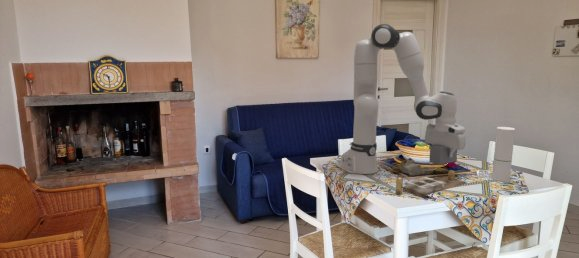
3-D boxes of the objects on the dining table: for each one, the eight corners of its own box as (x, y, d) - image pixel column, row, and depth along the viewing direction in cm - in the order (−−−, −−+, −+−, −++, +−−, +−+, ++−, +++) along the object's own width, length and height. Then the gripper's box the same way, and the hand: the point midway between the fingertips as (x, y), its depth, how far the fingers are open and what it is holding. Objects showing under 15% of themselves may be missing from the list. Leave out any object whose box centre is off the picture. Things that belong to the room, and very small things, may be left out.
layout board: (402, 190, 175) (403, 176, 174) (444, 178, 190) (445, 166, 188) (425, 198, 165) (426, 184, 164) (467, 186, 180) (468, 173, 178)
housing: (429, 162, 192) (430, 145, 191) (445, 158, 199) (446, 142, 197) (440, 165, 187) (441, 148, 186) (456, 160, 194) (457, 144, 192)
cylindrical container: (507, 180, 187) (513, 127, 182) (510, 185, 180) (516, 130, 175) (490, 179, 189) (495, 126, 184) (492, 183, 182) (498, 129, 177)
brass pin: (394, 193, 171) (395, 177, 170) (398, 192, 173) (399, 176, 171) (399, 195, 169) (399, 179, 168) (403, 193, 170) (404, 178, 169)
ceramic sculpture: (410, 162, 186) (390, 156, 200) (409, 180, 187) (390, 173, 201) (428, 159, 190) (407, 154, 204) (428, 177, 191) (407, 171, 205)
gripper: (422, 124, 197) (421, 151, 199) (459, 130, 180) (457, 160, 182) (431, 122, 200) (429, 149, 203) (468, 129, 183) (466, 158, 186)
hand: (443, 155), depth 192 cm, fingers closed on housing, 6 cm apart
